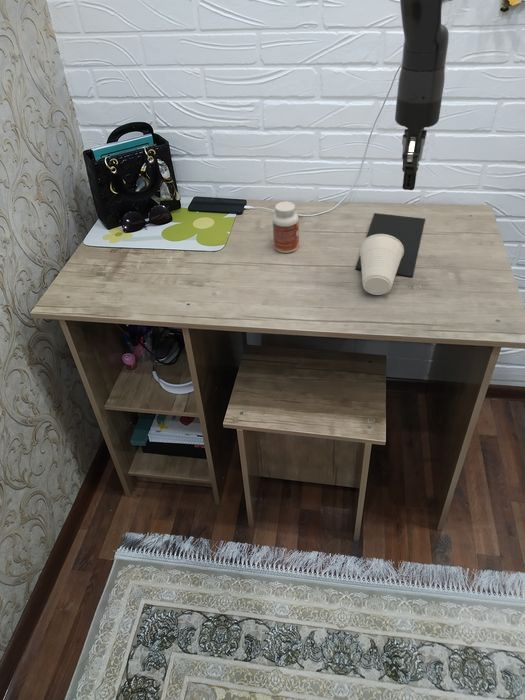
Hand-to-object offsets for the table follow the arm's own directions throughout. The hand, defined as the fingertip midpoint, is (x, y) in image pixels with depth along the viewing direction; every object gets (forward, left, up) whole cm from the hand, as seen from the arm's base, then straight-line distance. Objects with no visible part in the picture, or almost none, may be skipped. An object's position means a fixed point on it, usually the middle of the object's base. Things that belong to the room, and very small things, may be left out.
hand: (408, 188), depth 109 cm
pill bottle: (+23, +20, -25) cm, 39 cm away
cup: (-2, +5, -21) cm, 22 cm away
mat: (+18, -5, -24) cm, 31 cm away
